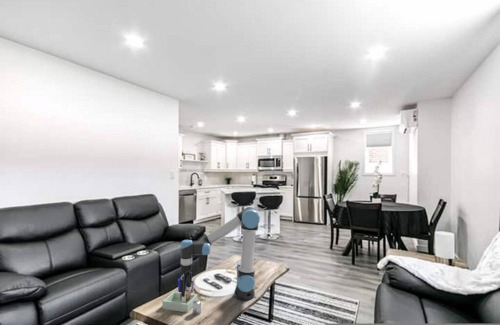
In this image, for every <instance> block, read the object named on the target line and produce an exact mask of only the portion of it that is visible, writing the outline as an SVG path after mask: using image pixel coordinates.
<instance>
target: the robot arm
mask: <svg viewBox="0 0 500 325" xmlns="http://www.w3.org/2000/svg"><path fill="white" fill-rule="evenodd" d="M260 219H261V218H260V214H259V212H258V211H257V210H256V209H255V208H254V207H251V206H250V207H249V206H248V207H246V208H243V209H242V210H241V211H240V212H239V213H237V214H236V216H235V217H233V218H232V219H230V220H228V221H226V223H224V224H222V225H221V226H219V227H218V228H216V229H215V230H214V231H212V232H210V233H209V234H207V235H205V236H204V237H201V238H200V239H199V241H198V243H193V240H192V239H184V240H181V243H180V271H181V272H182V273H181V276H179V278H180V292H182V301H186V291H185V289H186V290H188V291H190V290H191V288H192V281H193V256H208V255H210V253H211V246H212V245H214V244H215V243H217V242H219V241H220V240H221V239H223V238H225V237H227V236H228V235H230V234H231V233H232V232H234V231H235V230H237V229H239V228H240V229H241V230H242V239H241V240H242V242H241V255H240V262H238V263H237V264H236V286H235V289H234V291H233V296H234V298H236V299H237V300H240V301H250V300H252V299H253V298H255V297H256V296H255V294H256V291H255V284H256V280H255V274H256V268H255V267H254V260H255V259H254V257H255V246H256V245H255V244H256V232H257V231H258V230H259V223H260V221H261V220H260ZM186 285H187V287H186Z"/></svg>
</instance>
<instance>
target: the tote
mask: <svg viewBox="0 0 500 325" xmlns="http://www.w3.org/2000/svg"><path fill="white" fill-rule="evenodd" d="M180 293H181V292H178V291H173V292H171V293H170V294H169V295H168V296H167V297H165V299H163V300H162V310H168V311H175V312H181V313H189V312H190V311H191V310H192V309H193V301H195V300H198V294H197V293H196V294H195V293H191V296H190V299H189V300H188V301H187V302H185V301H180Z"/></svg>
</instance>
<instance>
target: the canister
mask: <svg viewBox="0 0 500 325" xmlns="http://www.w3.org/2000/svg"><path fill="white" fill-rule="evenodd" d="M201 313H202V301H201V300H200V299H197V300H195V301H193V307H192V314H193V316H200V315H201Z"/></svg>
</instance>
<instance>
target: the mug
mask: <svg viewBox="0 0 500 325" xmlns="http://www.w3.org/2000/svg"><path fill="white" fill-rule="evenodd" d="M186 287H187V285H186ZM177 288H178V290H177V292H180V277H179V278H178V279H177ZM193 289H194V280H192V287H191V288H190V291H191V292H192V291H193ZM185 290H186V289H185Z"/></svg>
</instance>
